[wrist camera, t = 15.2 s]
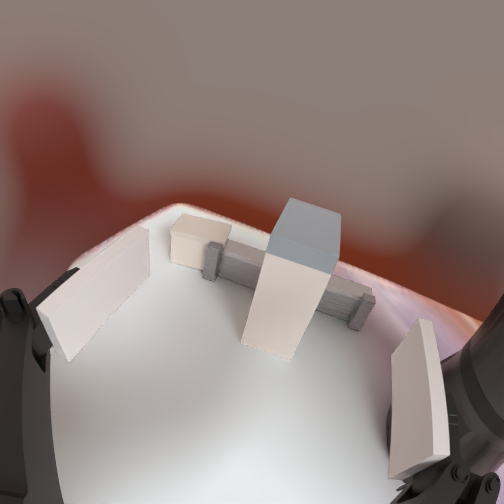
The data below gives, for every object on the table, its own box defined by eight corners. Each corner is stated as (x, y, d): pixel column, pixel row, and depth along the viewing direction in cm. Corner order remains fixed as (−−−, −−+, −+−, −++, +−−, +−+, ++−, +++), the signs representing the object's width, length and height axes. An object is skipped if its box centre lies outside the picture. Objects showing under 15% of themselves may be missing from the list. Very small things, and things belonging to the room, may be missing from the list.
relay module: (303, 307, 33) (340, 214, 26) (290, 360, 26) (339, 256, 20) (262, 293, 33) (290, 197, 27) (240, 343, 27) (271, 233, 20)
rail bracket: (358, 303, 35) (372, 276, 33) (358, 331, 31) (375, 303, 28) (219, 255, 38) (224, 226, 35) (202, 277, 33) (206, 245, 31)
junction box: (226, 255, 38) (231, 224, 36) (219, 275, 34) (224, 242, 32) (179, 244, 38) (182, 213, 36) (168, 262, 34) (169, 229, 32)
